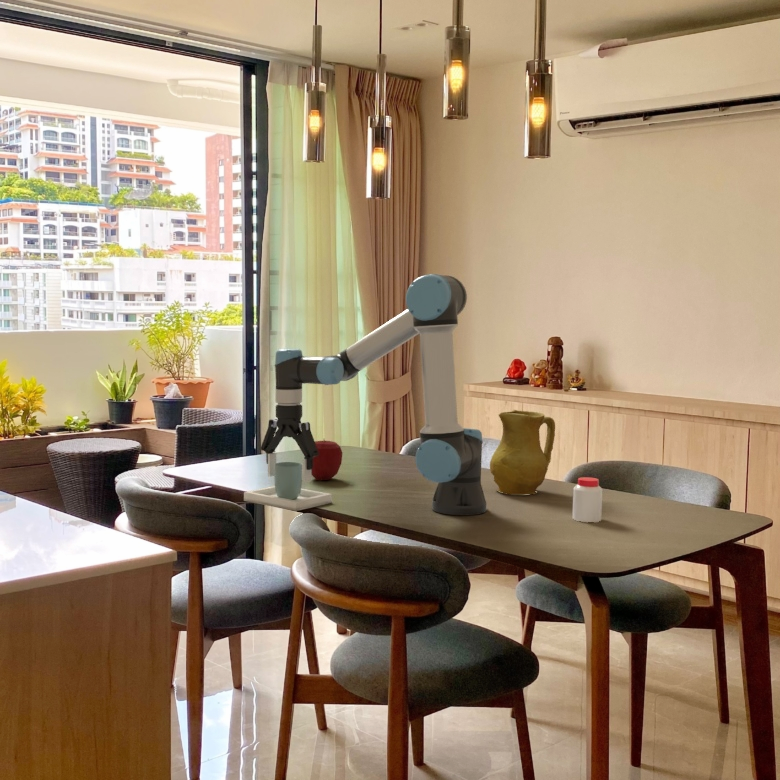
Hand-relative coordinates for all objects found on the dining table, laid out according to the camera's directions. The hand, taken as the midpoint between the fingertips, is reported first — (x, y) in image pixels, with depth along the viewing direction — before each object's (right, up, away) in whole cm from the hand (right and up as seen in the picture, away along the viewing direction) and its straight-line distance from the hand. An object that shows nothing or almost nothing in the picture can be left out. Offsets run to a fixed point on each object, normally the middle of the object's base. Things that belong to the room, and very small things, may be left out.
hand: (289, 478), depth 278 cm
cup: (0, -6, +1) cm, 6 cm away
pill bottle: (+82, -10, -13) cm, 83 cm away
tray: (-1, -7, +1) cm, 7 cm away
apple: (+7, -4, +36) cm, 37 cm away
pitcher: (+68, -6, +22) cm, 72 cm away
